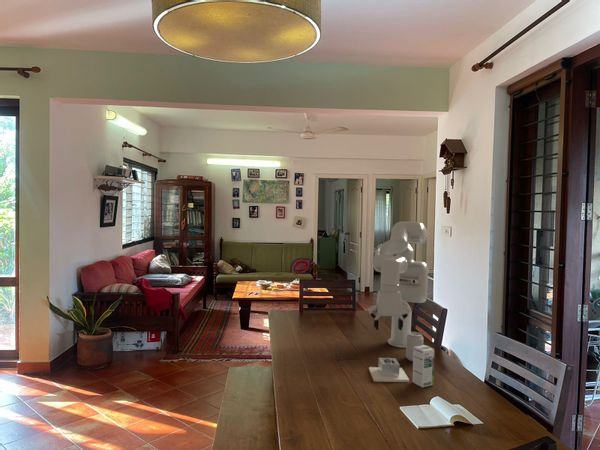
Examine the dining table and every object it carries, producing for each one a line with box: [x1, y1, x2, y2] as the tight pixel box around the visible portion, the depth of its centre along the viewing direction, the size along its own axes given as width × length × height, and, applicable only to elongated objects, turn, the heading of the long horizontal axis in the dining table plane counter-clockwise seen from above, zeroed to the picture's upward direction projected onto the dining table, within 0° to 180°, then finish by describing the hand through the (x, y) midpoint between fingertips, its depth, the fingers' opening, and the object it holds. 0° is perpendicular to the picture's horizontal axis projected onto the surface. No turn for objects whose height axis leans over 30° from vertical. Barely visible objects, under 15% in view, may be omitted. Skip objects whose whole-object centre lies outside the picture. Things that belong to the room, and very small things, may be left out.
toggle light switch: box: [368, 357, 410, 383], centre depth 170 cm, size 14×12×7 cm
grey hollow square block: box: [377, 357, 401, 377], centre depth 170 cm, size 7×7×5 cm
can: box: [405, 331, 425, 362], centre depth 189 cm, size 8×8×12 cm
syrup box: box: [412, 344, 435, 388], centre depth 163 cm, size 6×6×14 cm
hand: (388, 329), depth 172 cm, fingers open, 9 cm apart
